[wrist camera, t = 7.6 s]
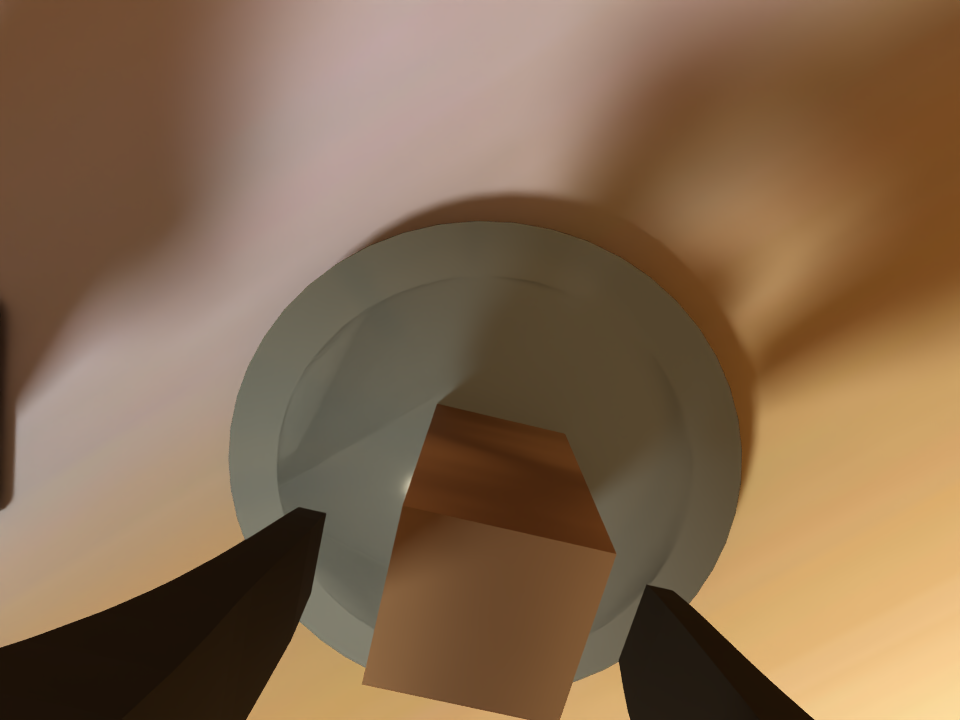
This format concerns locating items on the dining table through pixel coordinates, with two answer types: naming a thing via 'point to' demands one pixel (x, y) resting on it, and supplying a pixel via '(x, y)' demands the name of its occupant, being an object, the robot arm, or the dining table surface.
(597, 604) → the walnut block
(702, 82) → the dining table surface
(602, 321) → the dish
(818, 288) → the dining table surface
